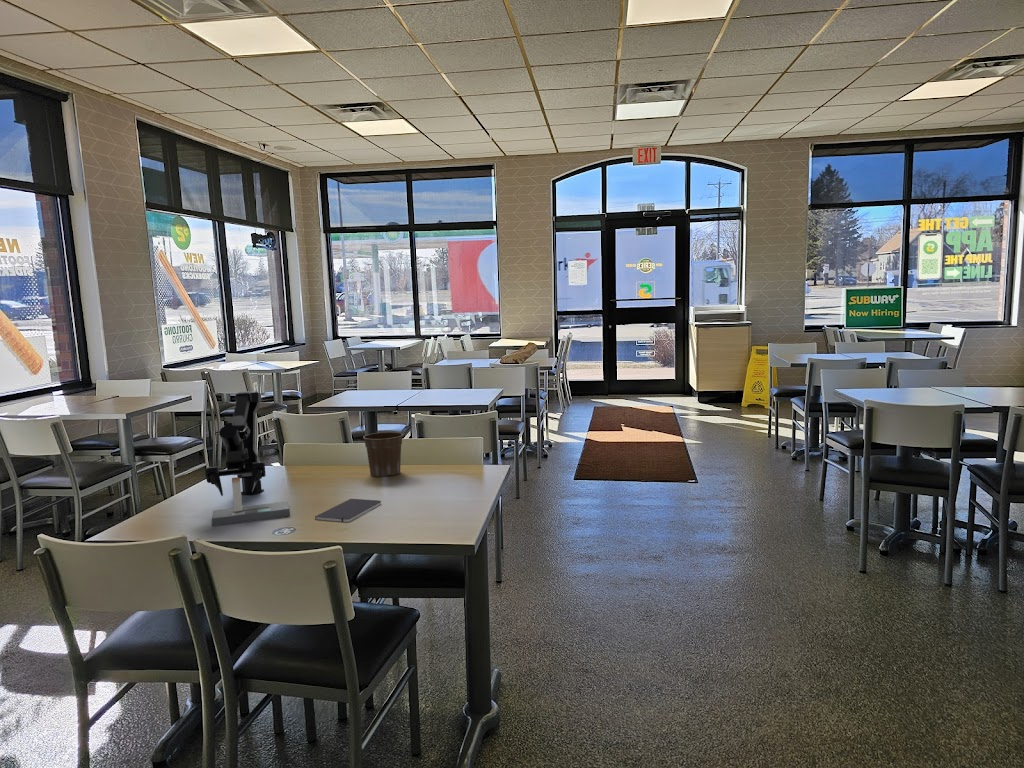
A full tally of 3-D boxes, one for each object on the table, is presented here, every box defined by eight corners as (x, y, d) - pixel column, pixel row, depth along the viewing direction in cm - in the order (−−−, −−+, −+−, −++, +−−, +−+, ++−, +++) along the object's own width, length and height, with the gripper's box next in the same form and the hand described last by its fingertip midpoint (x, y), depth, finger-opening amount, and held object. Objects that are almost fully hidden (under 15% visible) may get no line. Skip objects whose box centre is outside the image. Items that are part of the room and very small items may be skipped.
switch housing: (212, 525, 225) (211, 518, 225) (213, 517, 235) (213, 510, 234) (290, 515, 234) (289, 508, 233) (288, 507, 243) (288, 500, 243)
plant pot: (373, 469, 296) (370, 431, 295) (410, 468, 294) (408, 431, 292) (359, 478, 280) (357, 439, 279) (398, 478, 278) (396, 438, 276)
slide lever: (234, 511, 231) (231, 480, 229) (234, 509, 233) (232, 478, 232) (242, 510, 231) (239, 479, 230) (242, 508, 234) (239, 477, 233)
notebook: (351, 502, 248) (315, 521, 228) (350, 498, 248) (315, 516, 228) (382, 505, 244) (348, 523, 224) (382, 500, 244) (348, 519, 224)
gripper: (203, 444, 232) (203, 484, 223) (262, 438, 238) (265, 477, 229) (206, 462, 240) (207, 502, 231) (264, 456, 246) (267, 494, 237)
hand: (237, 493), depth 232 cm, fingers open, 9 cm apart
